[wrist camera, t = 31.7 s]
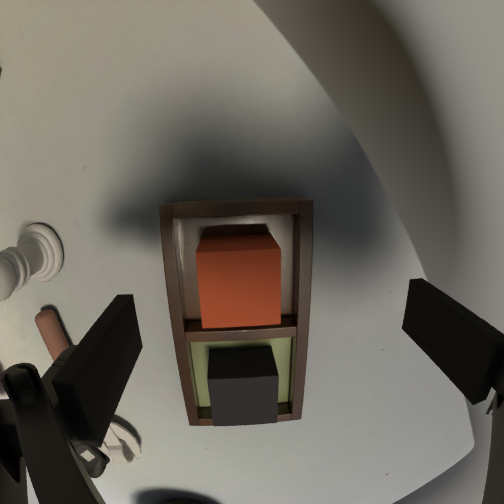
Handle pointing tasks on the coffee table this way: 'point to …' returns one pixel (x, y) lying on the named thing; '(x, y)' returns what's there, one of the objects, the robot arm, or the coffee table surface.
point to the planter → (181, 501)
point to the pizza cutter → (126, 443)
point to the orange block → (239, 280)
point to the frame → (278, 335)
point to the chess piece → (30, 259)
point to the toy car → (91, 458)
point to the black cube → (243, 386)
